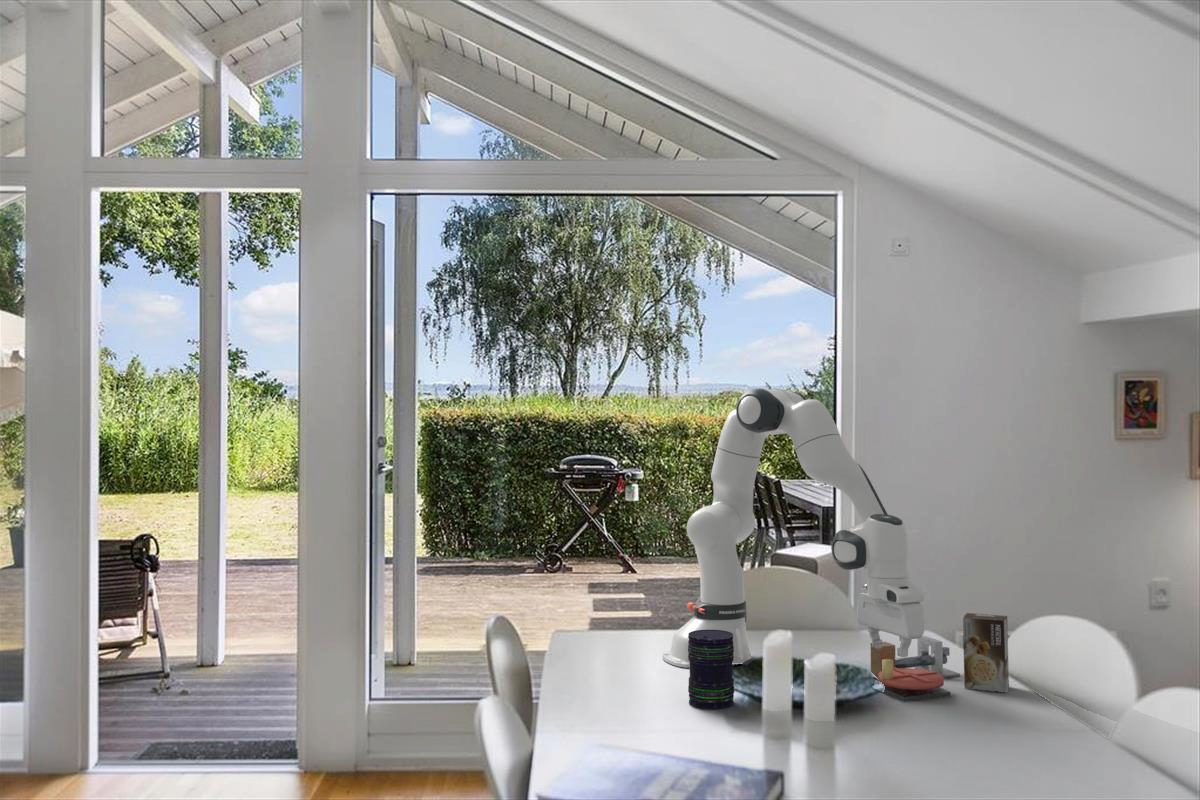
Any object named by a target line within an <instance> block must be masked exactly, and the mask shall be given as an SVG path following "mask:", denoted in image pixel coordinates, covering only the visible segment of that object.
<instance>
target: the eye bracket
mask: <svg viewBox="0 0 1200 800" xmlns="http://www.w3.org/2000/svg"><path fill="white" fill-rule="evenodd" d="M942 647H943V641H942V640H939V639H935V638H932V637H929V636H926V635H922V637H921V638H917V656H925V655H931V665H930V666H921V667H914V669H921V670H927V671H935V672H937V673H938V674H940V675H942V676H943V677H944V679H947V677H949V678H957V676H958V677H961V674H960V673H959V672H956V671H954V670H950V669H947V668H945V667H943V665H944V664H943V649H942ZM929 648H930V650H929Z"/></svg>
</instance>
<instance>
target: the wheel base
mask: <svg viewBox="0 0 1200 800" xmlns="http://www.w3.org/2000/svg"><path fill="white" fill-rule="evenodd" d="M884 686H885V690H884V692H883V694H885V695H887V696H890V697H892V698H894V699H897V700H899V701H901V702H903V701H904V702H903V703H906V701H908V702H915V700H916V701H923V700H924V699H925V700H931V698H933V699H940V697H941V698H947V697H951V696H952V694H951V693H952V692H951V691H950V690H948V689H944V688H943V687H939V688H935V689H927V690H910V689H901V688H895V687H890V686H887V685H884ZM925 700H924V701H925Z"/></svg>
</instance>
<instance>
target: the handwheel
mask: <svg viewBox="0 0 1200 800" xmlns="http://www.w3.org/2000/svg"><path fill="white" fill-rule="evenodd" d="M877 680H879V681H880V682H882V684H884V685H887V686H890V687H895V688H901V689H910V690H927V689H935V688H939V687H940V688H942V687H943V686H944V684H945V678H944V677H943V676H942V675H940V674H938V673H937V672H935V671H927V670H921V669H915V668H896V667H894V668H893V660H891V659H883V660H882V671H881V672H879V673H878V679H877ZM879 681H878V682H879ZM880 682H879V683H880Z"/></svg>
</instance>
